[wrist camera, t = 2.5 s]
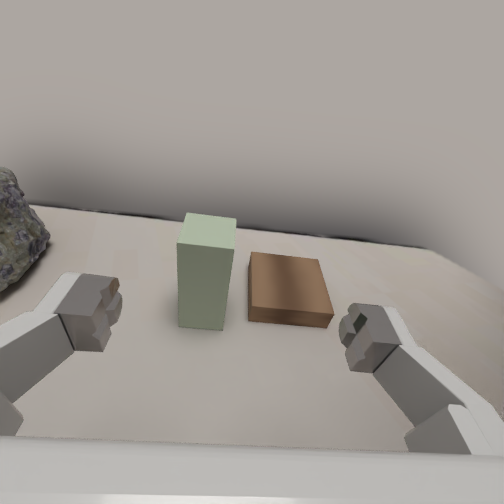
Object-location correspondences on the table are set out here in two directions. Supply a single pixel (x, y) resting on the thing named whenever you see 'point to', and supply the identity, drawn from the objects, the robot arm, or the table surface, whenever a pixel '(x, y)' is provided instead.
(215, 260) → the column
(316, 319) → the slab
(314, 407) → the table surface
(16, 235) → the mineral rock
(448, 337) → the table surface
